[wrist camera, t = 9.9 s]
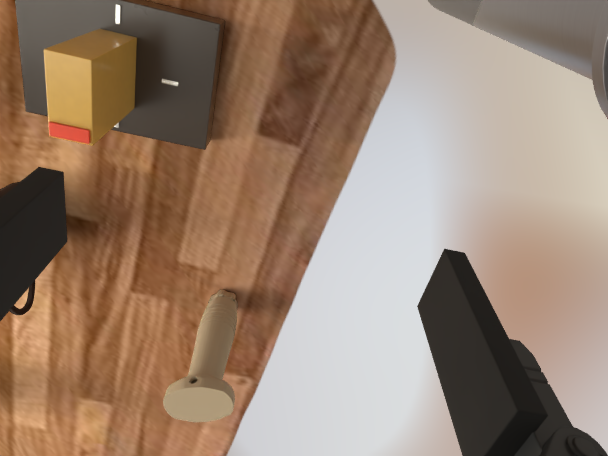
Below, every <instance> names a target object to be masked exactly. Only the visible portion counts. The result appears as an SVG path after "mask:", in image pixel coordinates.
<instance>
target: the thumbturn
mask: <svg viewBox="0 0 608 456" xmlns="http://www.w3.org/2000/svg"><path fill="white" fill-rule="evenodd" d="M136 47H137V38H136V37H132V36H128V35H124V34H120V33H116V32H112V31H107V30H103V29H97V30H95V31H92V32H89V33H86V34H84V35H81V36H78V37H75V38H73V39H70V40H67V41H64V42H62V43H59V44H56V45H54V46H51V47H48V48H45V49H44V63H45V78H46V93H47V108H48V123H49V136H50V137H54V138H58V139H63V140H68V141H73V142H77V143H82V144H87V145H92V146H93V145H94V144H95V143H96V142H97V141H98V140H100V139H101V138H102V137H103V136H104V135H105V134H106V133H107V132H109V131H110V130H111V129H112V128H113V127H114V126H115V125H116V124H117V123H119V122H120V121H121V120H122V119H123V118H124V117H125V116H126V115H128V114H129V113H130V112H131V111H132V110H133V109H134V105H135V76H136Z"/></svg>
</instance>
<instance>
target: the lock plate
mask: <svg viewBox="0 0 608 456" xmlns="http://www.w3.org/2000/svg"><path fill="white" fill-rule="evenodd" d="M15 4H16V14H17V25H18V35H19V45H20V56H21V66H22V77H23V87H24V98H25V108H26V112H31V113H35V114H40V115H45V116H48V108H47V93H46V78H45V63H44V49H45V48H48V47H51V46H54V45H56V44H59V43H62V42H64V41H67V40H70V39H73V38H75V37H78V36H81V35H84V34H86V33H89V32H92V31H95V30H97V29H103V30H107V31H112V32H116V33H120V34H124V35H128V36H132V37H136V38H137V47H136V76H135V105H134V109H133V110H132V111H131V112H130V113H129V114H128V115H126V116H125V117H124V118H123V119H122V120H121V121H120V122H119V123H117V124H116V125H115V126H114V127H113V128H112V129H111V130H115V131H120V132H124V133H129V134H134V135H138V136H143V137H148V138H152V139H157V140H162V141H166V142H171V143H176V144H181V145H185V146H190V147H195V148H199V149H204V150H205V149H206V147H207V145H208V144H209V142H210V139H211V131H212V123H213V115H214V107H215V99H216V91H217V83H218V75H219V67H220V59H221V51H222V43H223V35H224V27H225V20H223V19H218V18H214V17H210V16H206V15H202V14H198V13H194V12H190V11H186V10H182V9H178V8H174V7H170V6H166V5H161V4H157V3H153V2H149V1H145V0H15Z"/></svg>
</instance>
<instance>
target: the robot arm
mask: <svg viewBox="0 0 608 456" xmlns="http://www.w3.org/2000/svg"><path fill="white" fill-rule="evenodd" d="M66 242H67V227H66V209H65V191H64V173H63V172H61V171H56V170H51V169H46V168H41V167H38V168H37V169H36V170H35V171H33V172H32V173H31V174H30V175H28V176H27V177H26V178H25V179H23V180H22V181H21V182H19V183H18V184H17V185H16V186H14V187H13V188H12V189H11V190H9V191H8V192H7V193H6V194H4V195H3V196H2V197H1V198H0V321H1V320H2V319H3V317H4V316H5V315H6V314H7V313H8V312H9V310H10V309H11V308H12V307H13V306H14V304H15V303H16V302H17V301H18V300H19V298H20V297H21V296H22V295H23V294H24V292H25V291H26V290H27V289H28V288H29V286H30V285H31V284H32V283H33V282H34V280H35V279H36V278H37V277H38V276H39V274H40V273H41V272H42V271H43V270H44V269H45V267H46V266H47V265H48V264H49V263H50V261H51V260H52V259H53V258H54V257H55V255H56V254H57V253H58V252H59V251H60V249H61V248H62V247H63V246H64V245H65V243H66ZM417 307H418V310H419V313H420V317H421V320H422V323H423V327H424V330H425V333H426V336H427V340H428V343H429V346H430V350H431V353H432V356H433V360H434V363H435V366H436V370H437V373H438V376H439V379H440V383H441V386H442V389H443V392H444V396H445V399H446V402H447V406H448V409H449V412H450V416H451V419H452V422H453V426H454V429H455V432H456V435H457V439H458V442H459V445H460V449H461V452H462V455H463V456H608V455H607V453H606V452H605V451H604V449H603V448H602V447H601V446H600V444H598V442H597V441H595V440H594V439H593V438H592V437H591V436H589V435H588V434H587V433H585V432H583V431H581V430H579V429H577V428H574V427H573V426H572V424H571V422H570V421H569V419H568V417H567V415H566V413H565V412H564V410H563V408H562V406H561V404H560V403H559V401H558V399H557V397H556V395H555V393H554V392H553V390H552V388H551V387H550V385H549V384H548V381H547V379H546V377H545V376H544V374H543V372H541V368H540V366H539V365H538V363H537V361H536V359H535V357H534V356H533V354H532V353H531V352H530V351H529V350H528V349H527V348H526V347H525V346H524V345H523V344H522V343H521V342H520V341H517V340H512V339H509V338H508V336H507V334H506V332H505V330H504V328H503V326H502V325H501V323H500V321H499V319H498V317H497V315H496V313H495V311H494V309H493V307H492V305H491V303H490V301H489V299H488V297H487V295H486V293H485V291H484V289H483V288H482V286H481V284H480V282H479V280H478V278H477V276H476V274H475V272H474V270H473V268H472V266H471V264H470V262H469V260H468V258H467V256H466V254H465V253H463V252H458V251H453V250H448V249H444V251H443V253H442V255H441V257H440V259H439V261H438V264H437V266H436V268H435V270H434V272H433V274H432V276H431V279H430V281H429V283H428V285H427V287H426V289H425V291H424V293H423V295H422V298H421V300H420V302H419V304H418V306H417Z"/></svg>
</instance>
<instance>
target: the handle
mask: <svg viewBox="0 0 608 456" xmlns="http://www.w3.org/2000/svg"><path fill="white" fill-rule="evenodd" d="M208 303H209V304H208V305H207V307H206V309H205V311H204V314H203V316H202V319H201V322H200V325H199V328H198V332H197V337H196V342H195V347H194V352H193V357H192V361H191V365H190V370H189V373H188V376H187V377H184V378H182V379H180V380H178V381H176V382H174V383H173V384H171V385H169V387H168V389H167V391H166V394H165V397H164V400H163V405H164V408H165V409H166V411H167V412H168V414H169V415H171V416H172V417H173V418H175V419H179V420H184V421H189V422H208V421H215V420H219V419H221V418H224V417H226V416H228V415H230V414H231V413H232V411H233V408H234V402H235V395H234V391H233V389H232V387H231V386H230V385H229V384H228V383H227V382H225V381H223V380H222V379H223V375H224V371H225V367H226V363H227V360H228V356H229V353H230V349H231V346H232V342H233V339H234V335H235V330H236V323H237V308H238V302H237V301H236V295H235V294H234V293H230V292H227V291H225V290H219V291H218V293H216V294H214V295H212V296H211V298H210V300H209V302H208Z"/></svg>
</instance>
